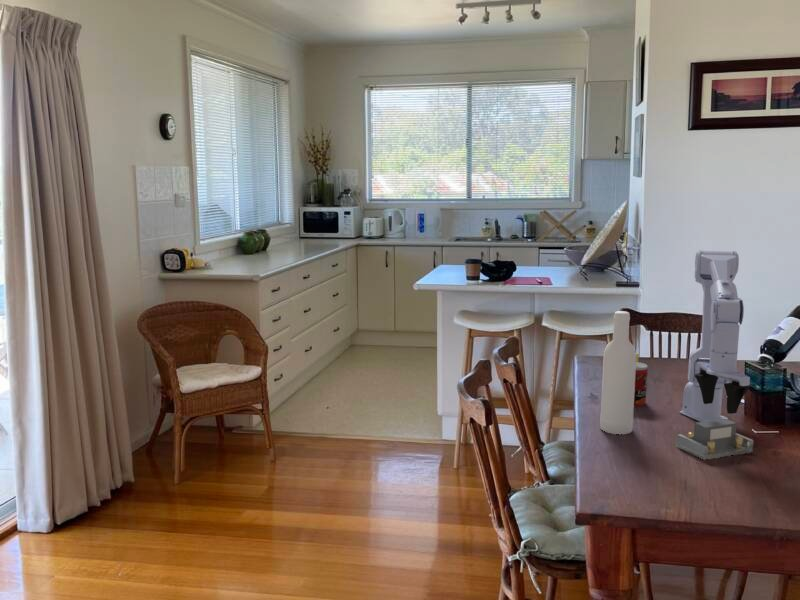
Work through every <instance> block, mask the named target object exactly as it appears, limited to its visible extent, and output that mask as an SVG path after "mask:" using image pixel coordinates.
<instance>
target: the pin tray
mask: <svg viewBox="0 0 800 600" xmlns="http://www.w3.org/2000/svg"><path fill="white" fill-rule="evenodd" d="M675 447H676V448H678V449H680V450H681V451H684V452H686V453H688V454H691V456H694V457H697V458H698V457H699V459H700V458H701V459H700V460H702V459H703V460H702V461H706V460H705V459H708V460H714V459H713V458H715V459H720V457H721V458H725V457H726V456H727V457H732V456H731V455H734V456H739V455H738V454H740V455H744V454H745V453H746V454H752V453H753V449H754V439H752V438H749V437H747V436H745V435H742V434H740V433H737V432H736V437H735V446H730V447H724V448H717V449H715V442H714V441H708V442H707V446H705V445H703V444H701V443H699V442H697V441H694V431H688V432H687V436H685V435H683V434H681V433H679V434H677V435H676V445H675ZM751 452H752V453H751Z"/></svg>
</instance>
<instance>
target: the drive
mask: <svg viewBox="0 0 800 600" xmlns="http://www.w3.org/2000/svg"><path fill="white" fill-rule="evenodd" d="M737 426H738V423H737V422H735V421H733V420H730V419H729V418H728V419H719V420H711V421H704V422H700V421H698V422H694V427H693V432H694V441H697V442H699V443H701V444H703V445H705V446H707V442H708V441H714V442H715V449H717V448H724V447H730V446H735V437H736V433H737Z"/></svg>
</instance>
